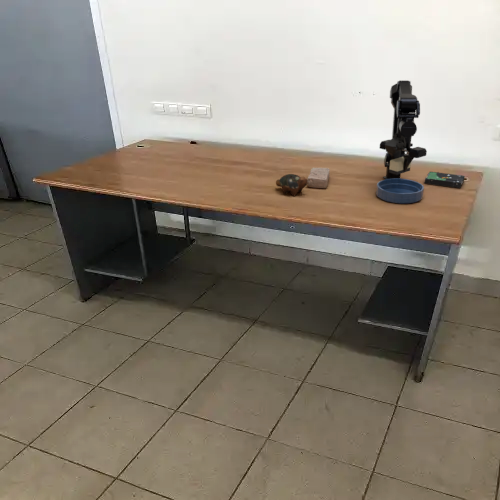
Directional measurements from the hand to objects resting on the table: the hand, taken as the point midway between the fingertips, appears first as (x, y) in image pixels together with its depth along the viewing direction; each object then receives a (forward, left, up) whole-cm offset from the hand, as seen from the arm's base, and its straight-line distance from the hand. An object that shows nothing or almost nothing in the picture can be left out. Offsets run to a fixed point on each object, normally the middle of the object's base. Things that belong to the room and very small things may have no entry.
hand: (400, 169), depth 202 cm
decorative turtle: (-19, -39, -11) cm, 45 cm away
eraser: (0, 0, -1) cm, 1 cm away
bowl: (+1, 0, -11) cm, 11 cm away
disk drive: (-6, +27, -11) cm, 30 cm away
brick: (-26, -23, -11) cm, 36 cm away
